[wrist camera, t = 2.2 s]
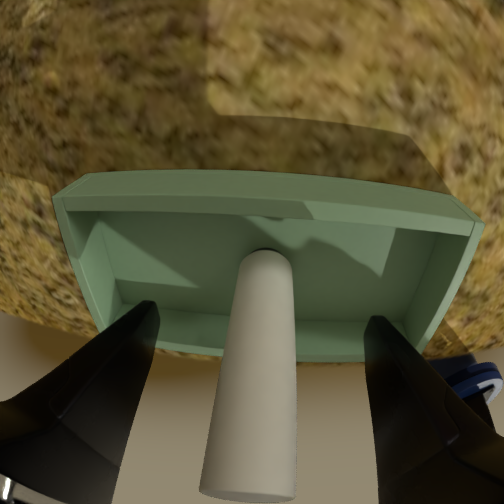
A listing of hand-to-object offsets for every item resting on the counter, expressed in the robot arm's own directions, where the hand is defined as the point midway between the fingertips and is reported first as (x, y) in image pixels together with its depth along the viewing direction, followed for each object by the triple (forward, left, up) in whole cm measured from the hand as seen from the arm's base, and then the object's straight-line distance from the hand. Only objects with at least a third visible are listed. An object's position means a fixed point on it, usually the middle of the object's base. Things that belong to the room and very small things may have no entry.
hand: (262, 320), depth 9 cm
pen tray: (0, 0, -4) cm, 4 cm away
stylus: (0, 0, -3) cm, 3 cm away
